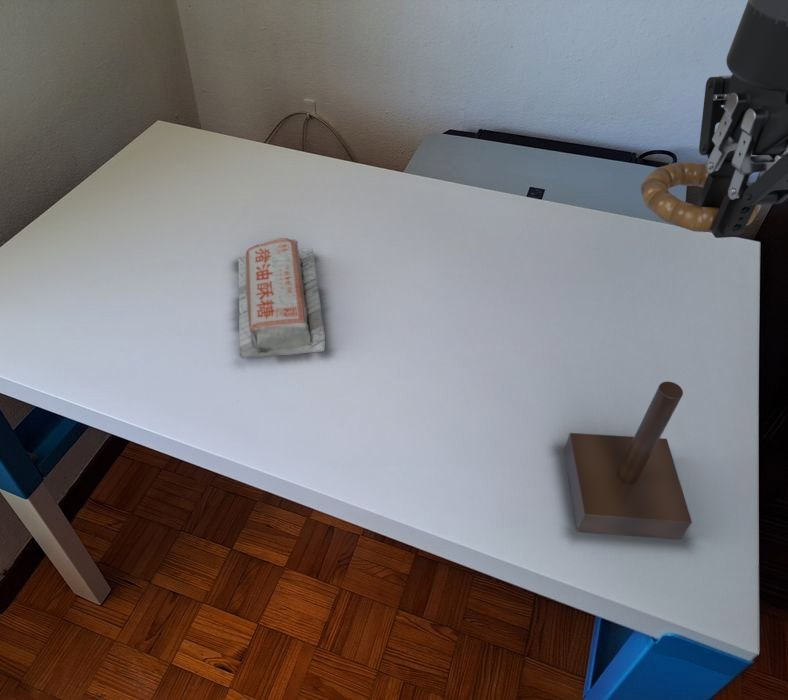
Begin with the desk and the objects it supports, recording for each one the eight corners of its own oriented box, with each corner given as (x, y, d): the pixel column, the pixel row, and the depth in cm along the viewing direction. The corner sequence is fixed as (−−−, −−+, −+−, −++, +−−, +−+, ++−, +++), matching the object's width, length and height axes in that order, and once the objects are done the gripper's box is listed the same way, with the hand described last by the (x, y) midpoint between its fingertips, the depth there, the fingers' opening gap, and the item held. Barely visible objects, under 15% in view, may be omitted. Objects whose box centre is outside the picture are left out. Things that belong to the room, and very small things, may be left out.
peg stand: (657, 456, 67) (714, 351, 57) (680, 539, 61) (750, 439, 50) (563, 450, 68) (602, 346, 57) (577, 532, 62) (623, 431, 51)
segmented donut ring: (737, 180, 62) (746, 160, 61) (768, 239, 56) (779, 219, 54) (631, 176, 63) (637, 156, 62) (650, 234, 57) (657, 213, 55)
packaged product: (325, 323, 75) (235, 332, 75) (327, 353, 79) (240, 362, 78) (312, 226, 88) (234, 233, 87) (313, 256, 91) (239, 263, 91)
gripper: (946, 39, 39) (806, 274, 52) (812, -36, 49) (721, 177, 61) (817, 46, 39) (708, 280, 52) (709, -30, 49) (638, 182, 61)
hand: (715, 223), depth 56 cm, fingers closed on segmented donut ring, 2 cm apart
